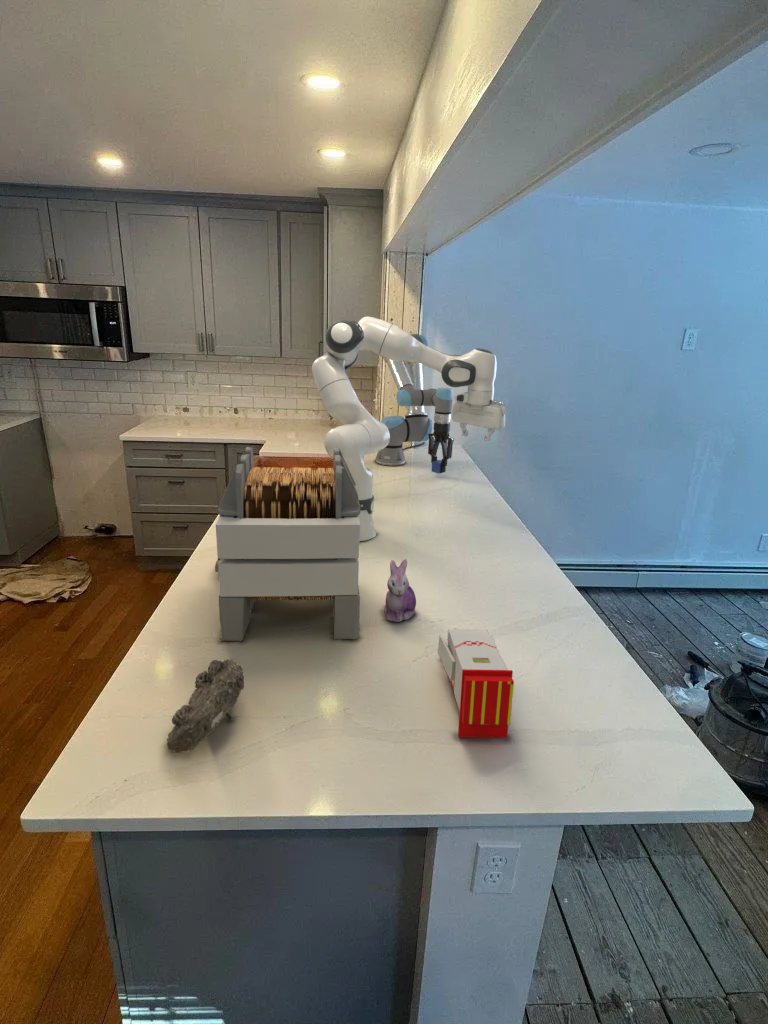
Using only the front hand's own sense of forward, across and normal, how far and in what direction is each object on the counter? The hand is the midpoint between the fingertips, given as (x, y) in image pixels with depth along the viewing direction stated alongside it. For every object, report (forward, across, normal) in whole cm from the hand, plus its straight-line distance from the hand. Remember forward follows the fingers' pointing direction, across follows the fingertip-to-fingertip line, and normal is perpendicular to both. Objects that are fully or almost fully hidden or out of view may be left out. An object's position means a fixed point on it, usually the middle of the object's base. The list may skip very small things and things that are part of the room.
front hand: (475, 438), depth 197 cm
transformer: (+34, -4, +83) cm, 90 cm away
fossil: (+34, -28, +120) cm, 128 cm away
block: (+30, +49, -43) cm, 72 cm away
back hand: (+30, +49, -43) cm, 72 cm away
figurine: (+34, -26, +65) cm, 77 cm away
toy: (+34, -57, +77) cm, 102 cm away
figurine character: (+34, +25, +83) cm, 93 cm away
